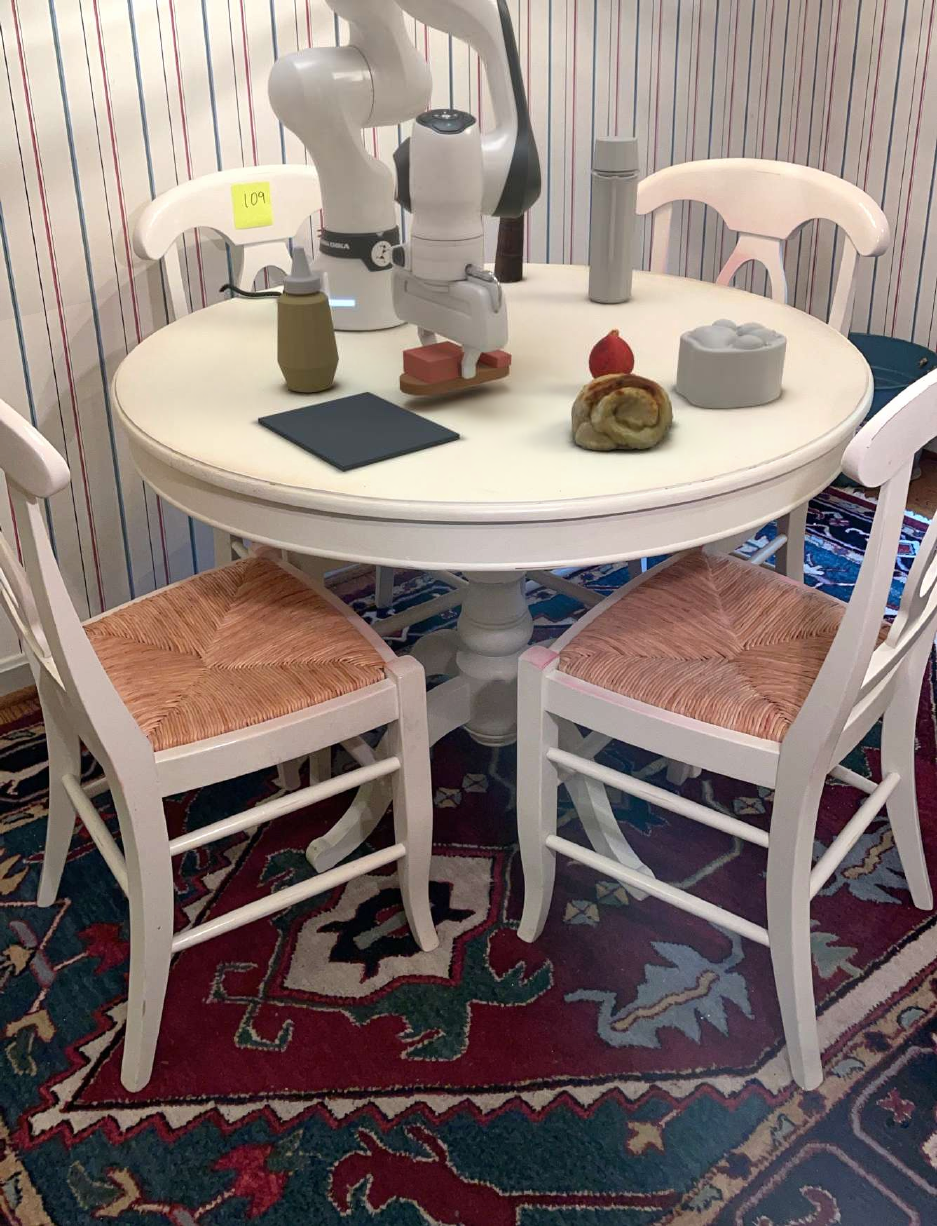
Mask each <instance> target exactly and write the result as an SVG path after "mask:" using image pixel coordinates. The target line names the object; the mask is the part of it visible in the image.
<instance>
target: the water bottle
mask: <svg viewBox="0 0 937 1226" xmlns="http://www.w3.org/2000/svg"><path fill="white" fill-rule="evenodd" d="M638 142H639V139H638V138H637V137H634V136H625V135H624V136H623V135H622V136H621V135H614V136H613V135H612V136H610V135H609V136H599V137H596V138H595V142H594V151H593V158H592V168H591V169H590V174H591V175H592V190H591V191H592V194H591V218H590V219H591V220H590V241H589V242H590V243H589V244H590V245H589V266H588V289H587V295H588V296H589V298H590V299H591V301H594V302H596V303H599V304H609V305H610V304H620V303H624V302H627V301H628V300H629V299H630V297H631V296H632V289H633V288H632V287H633V269H634V253H635V238H636V236H635V235H636V223H637V222H636V220H637V219H636V218H637V204H638V201H637V200H638V187H639V176H640V175H641V172H642V170H641V169H640V168H639V167H640V166H639V143H638Z"/></svg>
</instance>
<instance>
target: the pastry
mask: <svg viewBox="0 0 937 1226" xmlns="http://www.w3.org/2000/svg"><path fill="white" fill-rule="evenodd" d="M570 416H571V432H572V435H573V437H574V439H575V440H574V442H575V444H576V446H577V445H578V446H580V447H581V448H582V449H585V450H592V451H611V450H620V449H621V450H625V451H626V450H634V449H637V450H646V449H647V448H654V447H655V446H656V445H657V444H659V443H660V442H662V440H663V439H664V438H665V435H667V434H668V432H669V429H670V428H669V427H671V425H672V423H673V419H674V413H673V407H672V401H671V399H670V396H669V393H668V392H667V391H666V389H665V388H664V387H663V386H662V385H661V384H659V383H658V382H656V381H655V380H651V379H650V378H647V377H644V376H641V375H637V374H635V373H634V372H631V374H624V373H619V374H609V375H604V376H601V377H598V378H596V379H594V378H593V379H592V380H591V381H590V382H588V383H587V384H584V385H583V387H582V389H581V390H580V392H579V394H578V395H577V396H576V398H575V400H574V402H573V403H572V407H571V411H570Z"/></svg>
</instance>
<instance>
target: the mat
mask: <svg viewBox="0 0 937 1226" xmlns="http://www.w3.org/2000/svg"><path fill="white" fill-rule="evenodd" d="M257 422H258V424H259V425H262V426H263V427H265V428H267V429H268V430H269V431H272V432H274V433H276V434H278V435H279V436H280V437H283V438H285V439H286V440H288V441H290V442H292V443H294V444H295V445H297V446H298V447H300V448H302V449H304V450H306V451H307V452H309V453H311V454H312V455H314V456H316V457H318V458H320V459H322V460H323V461H324V462H326V463H329V465H332V466H334V467H336V468H337V469H339V470H341V471H342V472H345V471H350V470H353V469H356V468H360V467H364V466H367V465H370V464H374V463H379V462H381V461H386V460H388V459H391V458H395V457H399V456H402V455H406V454H410V453H413V452H417V451H421V450H423V449H427V448H430V447H435V446H438V445H442V444H445V443H449V442H452V441H456V440H459V439H461V434H460V433H459V432H456V431H454V430H452V429H450V428H448V427H446V426H443V425H441V424H439V423H436V422H435V421H433V420H430V419H428V418H426V417H424V416H422V415H420V414H417V413H415V412H413V411H411V410H408V409H406V408H404V407H402V406H399V405H398V404H396V403H393V402H390V401H389V400H386V399H385V398H382V397H380V396H378V395H376V394H373V393H372V392H370V391H365V392H361V393H356V394H353V395H349V396H344V397H340V398H336V399H332V400H327V401H323V402H319V403H315V404H311V405H307V406H302V407H298V408H295V409H290V410H287V411H282V412H278V413H274V414H269V415H265V416H261V417H258V418H257Z"/></svg>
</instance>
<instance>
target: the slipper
mask: <svg viewBox="0 0 937 1226" xmlns="http://www.w3.org/2000/svg"><path fill="white" fill-rule="evenodd" d="M464 353H465V352H462V345H459V344H457V343H454V342H452V341H449V340H445V341H441V342H437V343H436V344H431V345H427V346H417V347H414V348H409V349H404V350H402V362H403V364H402V365H403V366H402V369H403V370H402V371H403V373H401V374H400V375H399V379H398V381H399V391H401V392H402V393H403V394H406V395H409V396H416V397H429V396H436V395H440V394H444V393H448V392H449V393H450V392H453V391H457V390H460V389H465V388H468V387H473V386H477V385H480V384H481V385H482V384H484V383H488V382H489V383H490V382H493V381H498V380H502V379H505V378H506V377H509V375H510V366H512V354H511V353H509V352H506V351H504V350H502V349H500V350H496V351H491V352H486V353H484V352H481V354H480V356H479V358H478V360H477V362H476V374H475V376H474V377H472V378H468V379H465V378H463V377H461V376H459V375H458V363H459V362H462V359H463V356H464Z"/></svg>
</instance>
